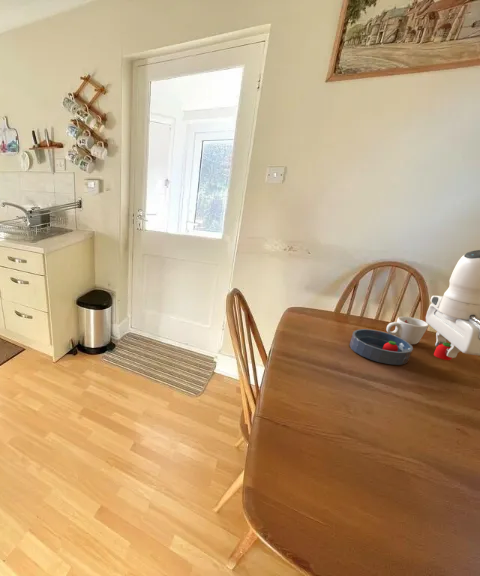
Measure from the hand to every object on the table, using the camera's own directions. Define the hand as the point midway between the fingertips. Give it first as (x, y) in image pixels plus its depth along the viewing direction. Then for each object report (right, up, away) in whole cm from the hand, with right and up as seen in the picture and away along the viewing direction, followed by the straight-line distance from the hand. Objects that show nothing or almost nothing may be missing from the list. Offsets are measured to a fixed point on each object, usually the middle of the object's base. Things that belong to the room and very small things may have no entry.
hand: (444, 351), depth 91 cm
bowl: (-6, -4, +16) cm, 17 cm away
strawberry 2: (0, -2, +1) cm, 2 cm away
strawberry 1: (-3, -4, +14) cm, 15 cm away
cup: (+9, -1, +23) cm, 25 cm away
